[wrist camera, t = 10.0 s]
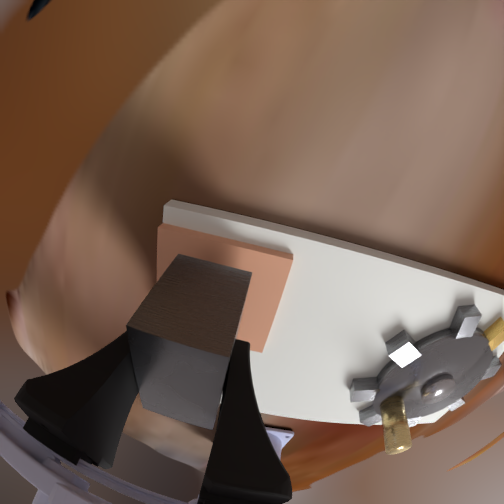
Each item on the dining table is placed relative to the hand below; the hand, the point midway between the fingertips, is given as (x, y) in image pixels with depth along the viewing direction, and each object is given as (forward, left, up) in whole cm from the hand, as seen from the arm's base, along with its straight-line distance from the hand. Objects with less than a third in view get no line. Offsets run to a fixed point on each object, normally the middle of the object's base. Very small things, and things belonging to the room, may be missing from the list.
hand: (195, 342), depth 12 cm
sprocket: (-4, -18, -4) cm, 19 cm away
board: (-4, -11, -5) cm, 13 cm away
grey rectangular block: (0, 0, -2) cm, 2 cm away
